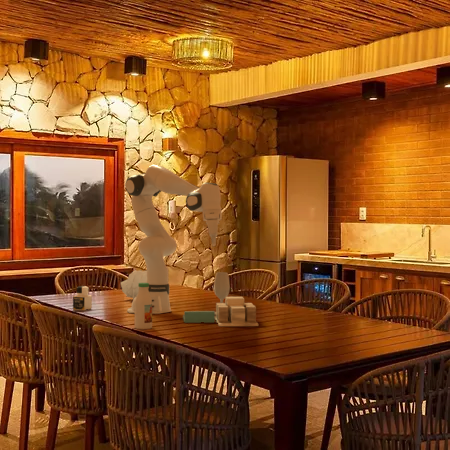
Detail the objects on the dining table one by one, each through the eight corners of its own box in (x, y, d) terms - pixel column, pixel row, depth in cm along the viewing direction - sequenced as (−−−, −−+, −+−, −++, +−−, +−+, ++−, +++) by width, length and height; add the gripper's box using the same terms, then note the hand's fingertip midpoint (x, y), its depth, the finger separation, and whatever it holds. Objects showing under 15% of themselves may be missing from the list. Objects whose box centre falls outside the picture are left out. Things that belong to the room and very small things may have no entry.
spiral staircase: (138, 304, 400) (163, 307, 381) (115, 294, 389) (140, 296, 371) (148, 276, 405) (174, 277, 387) (126, 264, 395) (151, 265, 376)
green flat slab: (182, 317, 327) (183, 307, 327) (211, 317, 329) (211, 307, 329) (184, 322, 314) (184, 311, 314) (214, 322, 315) (214, 311, 315)
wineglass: (228, 316, 335) (228, 273, 334) (211, 315, 336) (211, 273, 336) (231, 313, 343) (232, 272, 343) (214, 312, 345) (215, 271, 345)
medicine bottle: (72, 309, 350) (72, 286, 350) (80, 307, 357) (80, 285, 357) (84, 310, 348) (84, 287, 348) (92, 308, 354) (92, 286, 354)
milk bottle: (138, 330, 292) (138, 284, 292) (132, 327, 299) (132, 282, 299) (154, 328, 296) (155, 283, 295) (148, 326, 303) (148, 281, 302)
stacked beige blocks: (214, 319, 324) (214, 296, 324) (251, 318, 326) (251, 296, 326) (219, 326, 304) (219, 302, 304) (258, 326, 307) (258, 301, 306)
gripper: (206, 218, 326) (207, 247, 325) (205, 215, 305) (206, 245, 304) (219, 217, 326) (220, 246, 325) (218, 214, 305) (220, 245, 304)
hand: (214, 246), depth 314 cm, fingers open, 8 cm apart
